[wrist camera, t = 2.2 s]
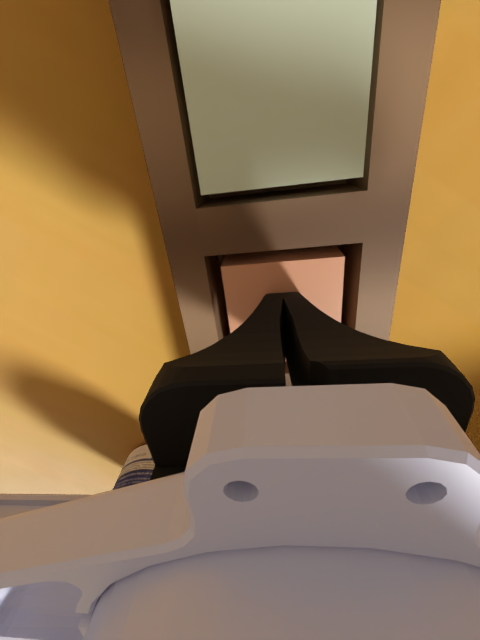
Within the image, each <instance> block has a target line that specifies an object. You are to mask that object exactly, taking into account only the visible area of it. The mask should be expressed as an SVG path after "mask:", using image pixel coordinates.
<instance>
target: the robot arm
mask: <svg viewBox="0 0 480 640" xmlns="http://www.w3.org/2000/svg"><path fill="white" fill-rule="evenodd" d="M285 361H287V366H288V371H289V375H290V380H291V385H292V386H286V378H285ZM474 402H475V396H474V392H473V388H472V386H471V384H470V383H469V382H468V381H467V379H466V378H465V377H464V375H463V374H462V373H461V372H460V371H459V370H458V369H457V367H456V366H455V365H454V364H453V363H452V362H451V361H450V360H449V359H448V358H447V357H446V355H444V354H443V353H442V352H441V351H439V350H433V349H427V348H421V347H415V346H409V345H404V344H400V343H396V342H392V341H388V340H384V339H380V338H377V337H374V336H371V335H368V334H365V333H363V332H360V331H357V330H355V329H353V328H350V327H348V326H346V325H344V324H342V323H340V322H338V321H336V320H335V319H333V318H331V317H330V316H328V315H327V314H325V313H324V312H322V311H321V310H319V309H318V308H317V307H315V306H314V305H313V304H312V303H310V302H309V301H308V300H307V299H306V298H305V297H304V296H302V295H301V294H300V293H299V292H284V293H270V294H266V295H265V296H264V297H263V298H262V300H261V302H260V303H259V305H258V306H257V307H256V309H255V310H254V311H253V312H252V314H251V315H250V316H249V317H248V318H247V319H246V320H245V321H244V322H243V324H242V325H240V326H239V327H238V328H237V329H236V330H234V331H233V332H232V333H230V334H229V335H227V336H226V337H224V338H223V339H221V340H219V341H218V342H216V343H214V344H213V345H211V346H209V347H207V348H205V349H203V350H200V351H198V352H196V353H193V354H191V355H188V356H185V357H182V358H179V359H176V360H173V361H170V362H166V363H164V365H163V366H162V368H161V369H160V371H159V373H158V374H157V376H156V378H155V380H154V381H153V383H152V385H151V387H150V389H149V391H148V394H147V396H146V398H145V400H144V402H143V404H142V406H141V409H140V414H139V421H140V426H141V430H142V433H143V435H144V438H145V441H146V443H147V446H148V448H149V451H150V454H151V456H152V459H153V461H154V464H155V467H154V469H153V472H152V475H151V478H150V481H146V482H142V483H138V484H135V485H131V486H127V487H123V488H119V489H115V490H111V491H107V492H103V493H99V494H95V495H66V494H0V640H480V453H479V452H478V451H477V449H476V448H475V446H474V445H473V444H472V442H471V441H470V439H469V438H468V437H467V435H466V434H465V432H466V429H467V426H468V423H469V421H470V418H471V415H472V412H473V408H474Z"/></svg>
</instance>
